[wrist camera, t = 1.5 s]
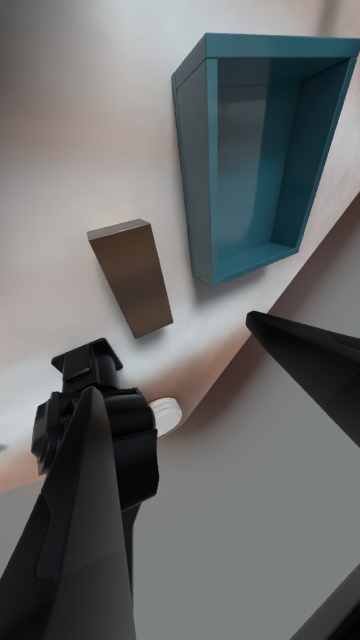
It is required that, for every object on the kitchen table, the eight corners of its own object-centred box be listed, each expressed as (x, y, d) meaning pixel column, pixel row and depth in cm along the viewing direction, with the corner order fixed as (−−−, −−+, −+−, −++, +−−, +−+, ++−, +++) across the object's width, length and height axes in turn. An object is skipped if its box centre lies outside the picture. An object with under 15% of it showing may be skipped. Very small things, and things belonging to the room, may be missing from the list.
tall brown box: (158, 302, 22) (173, 322, 19) (125, 315, 21) (135, 339, 18) (134, 216, 16) (150, 222, 12) (85, 228, 15) (87, 239, 11)
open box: (269, 245, 26) (298, 252, 22) (192, 273, 22) (212, 287, 19) (303, 70, 16) (364, 37, 12) (171, 75, 12) (205, 31, 9)
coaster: (173, 389, 36) (180, 404, 34) (178, 408, 43) (185, 422, 40) (128, 413, 34) (132, 431, 31) (141, 430, 40) (145, 446, 38)
